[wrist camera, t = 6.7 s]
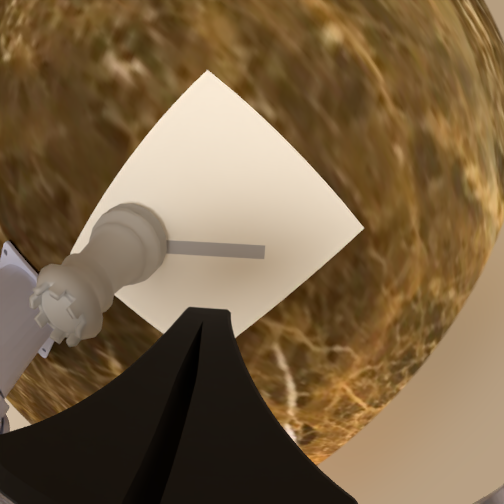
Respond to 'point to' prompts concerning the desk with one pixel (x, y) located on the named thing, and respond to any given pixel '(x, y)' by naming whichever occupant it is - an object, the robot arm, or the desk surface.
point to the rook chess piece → (98, 273)
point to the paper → (225, 210)
